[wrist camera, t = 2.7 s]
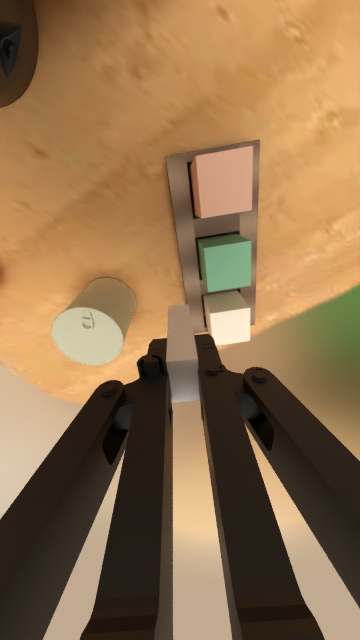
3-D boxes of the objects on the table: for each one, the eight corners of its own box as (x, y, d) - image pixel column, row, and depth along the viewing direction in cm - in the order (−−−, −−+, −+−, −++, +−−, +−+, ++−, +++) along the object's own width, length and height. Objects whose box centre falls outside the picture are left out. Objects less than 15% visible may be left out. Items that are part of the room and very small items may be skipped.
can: (137, 281, 36) (123, 313, 25) (135, 327, 40) (122, 370, 30) (81, 273, 35) (43, 304, 24) (85, 321, 39) (54, 365, 29)
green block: (197, 239, 30) (204, 248, 24) (235, 233, 30) (251, 240, 24) (201, 275, 33) (208, 292, 27) (235, 270, 33) (250, 285, 26)
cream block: (203, 294, 34) (209, 313, 28) (236, 288, 34) (250, 307, 28) (205, 322, 37) (212, 346, 31) (236, 317, 37) (249, 340, 31)
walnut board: (166, 162, 28) (165, 156, 25) (248, 147, 28) (259, 139, 24) (189, 322, 40) (191, 333, 37) (247, 314, 40) (254, 324, 36)
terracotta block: (189, 167, 26) (195, 155, 20) (233, 159, 26) (253, 145, 20) (194, 215, 29) (201, 218, 23) (234, 208, 28) (251, 209, 22)
